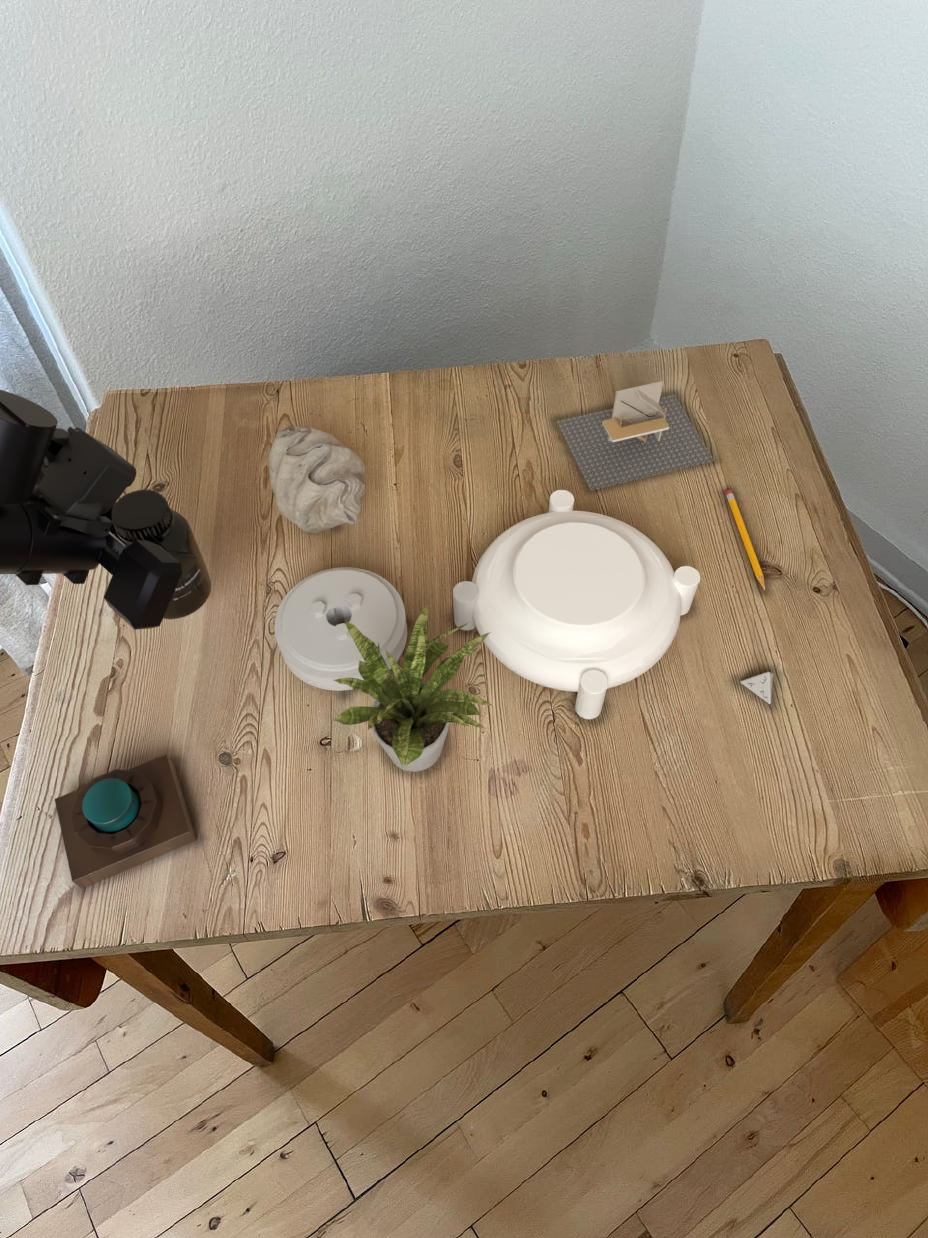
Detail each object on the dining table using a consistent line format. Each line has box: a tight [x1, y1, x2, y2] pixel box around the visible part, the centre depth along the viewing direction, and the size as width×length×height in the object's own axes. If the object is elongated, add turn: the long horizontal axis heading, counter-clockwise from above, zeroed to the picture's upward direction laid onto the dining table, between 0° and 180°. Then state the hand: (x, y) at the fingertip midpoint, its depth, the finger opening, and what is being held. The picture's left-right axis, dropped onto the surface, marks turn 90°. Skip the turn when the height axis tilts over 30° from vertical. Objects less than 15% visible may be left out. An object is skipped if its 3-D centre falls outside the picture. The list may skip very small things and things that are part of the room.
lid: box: [273, 566, 408, 692], centre depth 85 cm, size 13×13×5 cm
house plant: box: [332, 604, 492, 773], centre depth 73 cm, size 14×14×16 cm
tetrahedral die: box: [739, 671, 774, 705], centre depth 83 cm, size 4×3×3 cm
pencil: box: [724, 489, 766, 591], centre depth 93 cm, size 1×13×1 cm, turn 6°
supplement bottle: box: [111, 489, 212, 620], centre depth 79 cm, size 7×7×12 cm
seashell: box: [268, 424, 367, 534], centre depth 92 cm, size 10×15×10 cm
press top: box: [83, 778, 139, 832], centre depth 73 cm, size 4×4×2 cm
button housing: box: [54, 753, 197, 890], centre depth 75 cm, size 10×8×4 cm
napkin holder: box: [601, 380, 670, 444], centre depth 98 cm, size 3×7×7 cm, turn 106°
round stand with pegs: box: [452, 489, 701, 720], centre depth 85 cm, size 24×24×7 cm
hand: (169, 540), depth 79 cm, fingers closed on supplement bottle, 7 cm apart
